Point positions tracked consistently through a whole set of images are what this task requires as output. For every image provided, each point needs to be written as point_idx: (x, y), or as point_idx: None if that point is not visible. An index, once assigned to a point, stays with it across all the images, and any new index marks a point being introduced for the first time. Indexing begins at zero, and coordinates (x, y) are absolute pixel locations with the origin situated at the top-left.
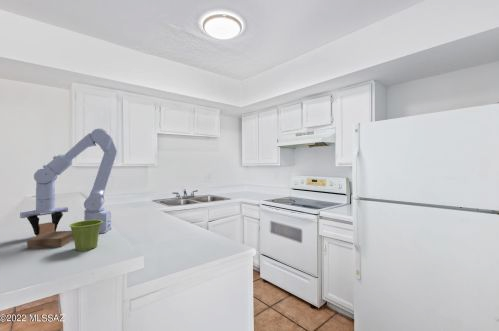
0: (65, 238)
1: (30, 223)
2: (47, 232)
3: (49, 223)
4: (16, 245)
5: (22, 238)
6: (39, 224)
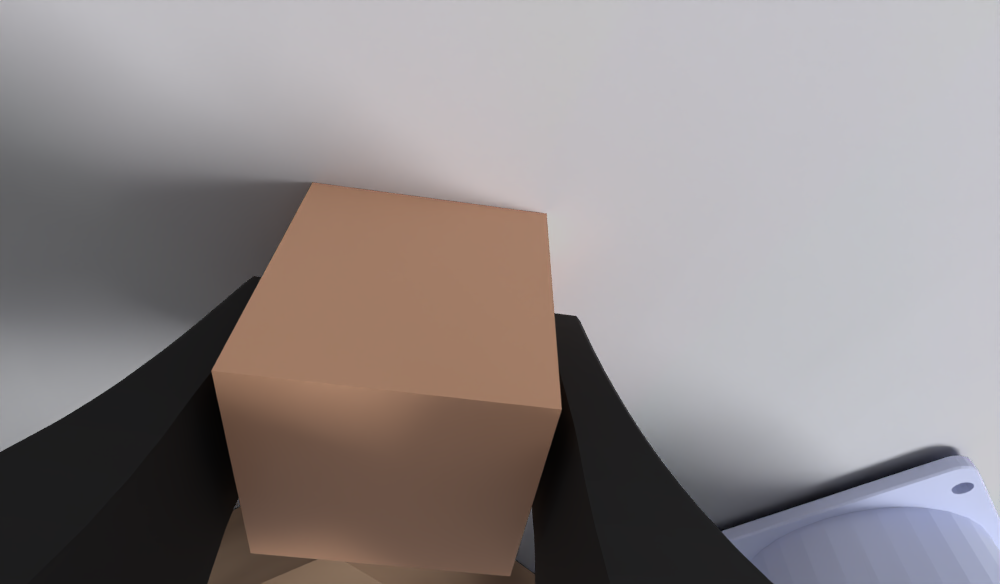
0: None
1: (32, 439)
2: (333, 580)
3: (468, 499)
4: (38, 391)
5: (94, 54)
6: (280, 423)
